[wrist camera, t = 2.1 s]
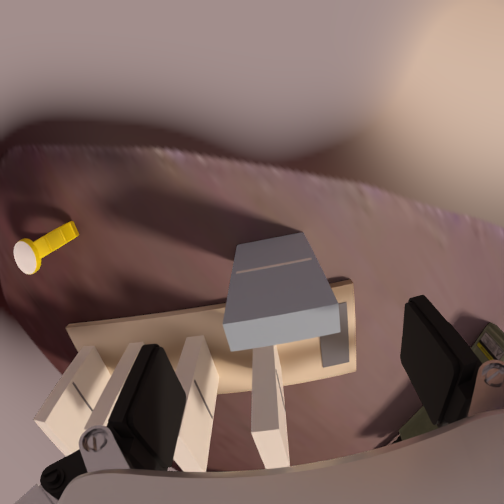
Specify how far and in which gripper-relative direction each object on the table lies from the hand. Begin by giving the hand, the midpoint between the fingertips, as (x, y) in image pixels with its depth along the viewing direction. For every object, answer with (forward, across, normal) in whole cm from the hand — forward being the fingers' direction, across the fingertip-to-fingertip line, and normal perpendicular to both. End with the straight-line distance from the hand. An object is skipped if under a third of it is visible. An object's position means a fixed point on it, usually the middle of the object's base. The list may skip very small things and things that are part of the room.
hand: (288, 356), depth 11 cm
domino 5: (+12, +2, +10) cm, 16 cm away
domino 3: (+12, +8, +10) cm, 18 cm away
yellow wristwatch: (+14, +18, -4) cm, 23 cm away
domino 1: (+12, +20, +10) cm, 26 cm away
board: (+13, +8, +10) cm, 18 cm away
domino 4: (+14, 0, +1) cm, 14 cm away
